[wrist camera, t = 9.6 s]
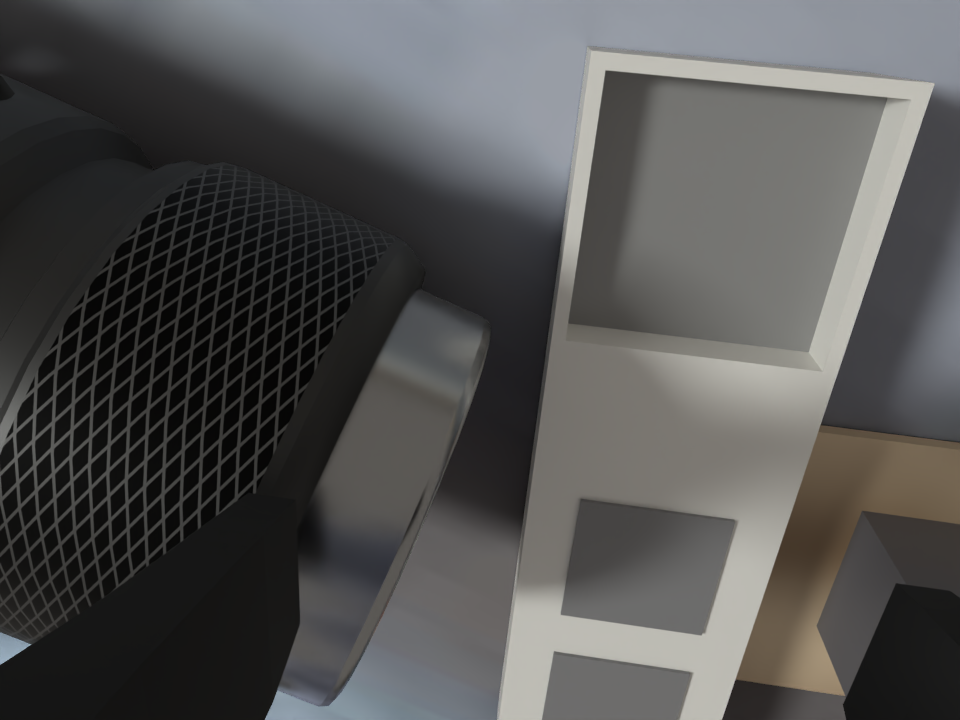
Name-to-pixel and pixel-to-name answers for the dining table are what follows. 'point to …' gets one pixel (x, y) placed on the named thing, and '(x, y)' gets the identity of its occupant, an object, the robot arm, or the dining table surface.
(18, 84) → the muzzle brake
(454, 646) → the dining table surface
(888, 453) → the coaster
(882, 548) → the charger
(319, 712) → the dining table surface
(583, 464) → the socket strip
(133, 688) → the robot arm
